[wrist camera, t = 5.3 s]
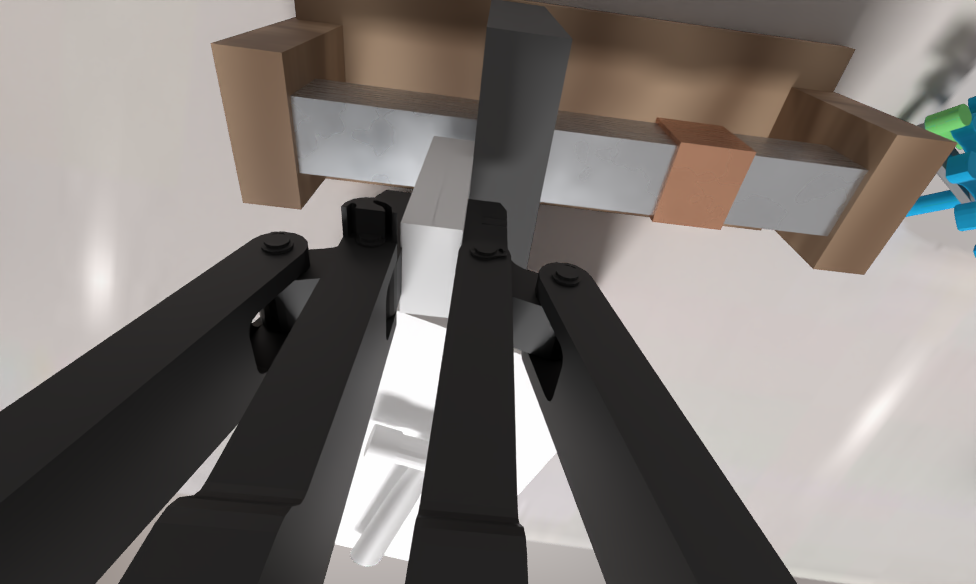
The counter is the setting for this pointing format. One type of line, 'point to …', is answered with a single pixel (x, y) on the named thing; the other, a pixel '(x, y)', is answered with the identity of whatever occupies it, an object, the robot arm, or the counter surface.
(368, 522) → the white pegged block
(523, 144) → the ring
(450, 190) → the robot arm
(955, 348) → the counter surface
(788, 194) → the light grey bar
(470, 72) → the wooden stand
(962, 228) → the gear
